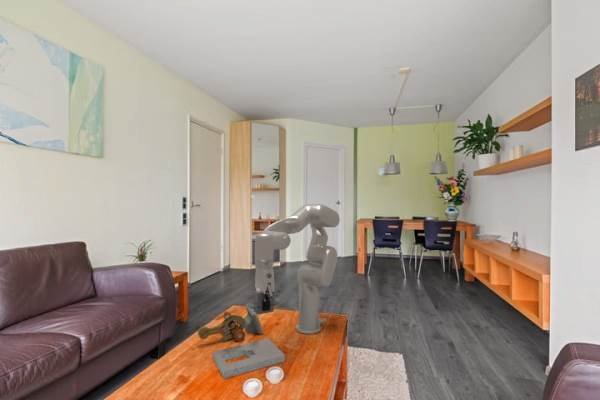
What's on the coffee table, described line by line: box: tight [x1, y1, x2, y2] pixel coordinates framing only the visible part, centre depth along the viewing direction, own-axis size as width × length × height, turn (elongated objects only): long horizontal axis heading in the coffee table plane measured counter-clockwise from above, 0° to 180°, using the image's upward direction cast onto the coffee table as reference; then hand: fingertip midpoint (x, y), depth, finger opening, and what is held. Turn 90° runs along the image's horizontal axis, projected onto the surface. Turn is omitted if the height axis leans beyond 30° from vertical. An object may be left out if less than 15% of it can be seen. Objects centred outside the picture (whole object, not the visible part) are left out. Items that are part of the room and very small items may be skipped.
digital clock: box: [243, 303, 264, 335], centre depth 145 cm, size 16×9×11 cm, turn 11°
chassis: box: [212, 338, 286, 380], centre depth 117 cm, size 24×16×2 cm, turn 120°
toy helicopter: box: [197, 308, 246, 343], centre depth 131 cm, size 8×21×14 cm, turn 123°
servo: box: [247, 288, 280, 316], centre depth 120 cm, size 12×4×10 cm, turn 120°
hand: (263, 307), depth 120 cm, fingers closed on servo, 4 cm apart
